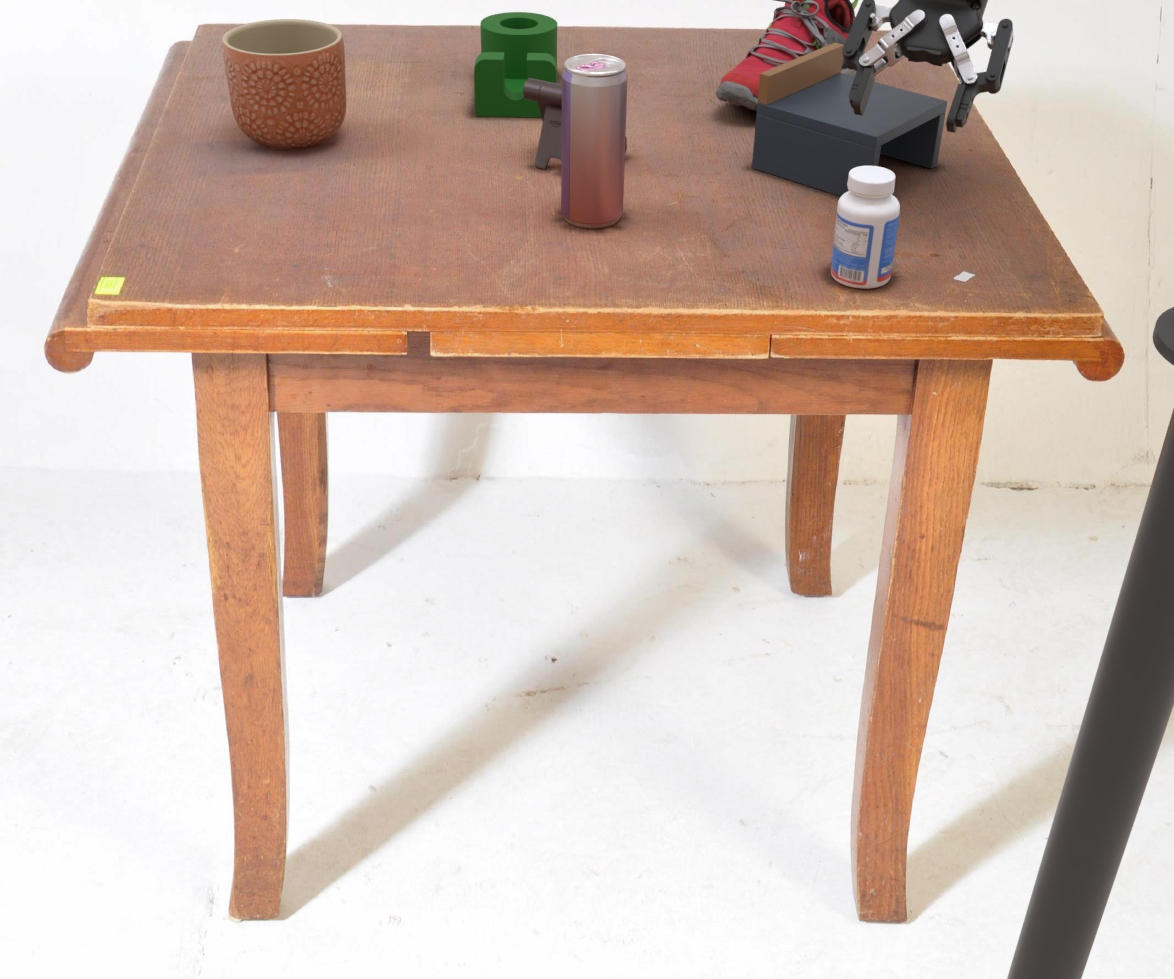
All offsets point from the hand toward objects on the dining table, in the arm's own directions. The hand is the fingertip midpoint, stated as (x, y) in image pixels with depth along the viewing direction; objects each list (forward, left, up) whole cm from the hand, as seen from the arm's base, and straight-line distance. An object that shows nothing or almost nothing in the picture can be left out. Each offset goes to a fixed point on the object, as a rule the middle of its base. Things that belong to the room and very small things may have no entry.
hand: (903, 120), depth 128 cm
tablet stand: (+35, +4, -12) cm, 38 cm away
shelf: (+13, -14, -12) cm, 23 cm away
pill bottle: (-2, +7, -12) cm, 14 cm away
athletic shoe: (+29, -28, -12) cm, 43 cm away
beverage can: (+24, +14, -12) cm, 30 cm away
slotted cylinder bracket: (+54, -8, -12) cm, 56 cm away
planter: (+61, +20, -12) cm, 66 cm away
